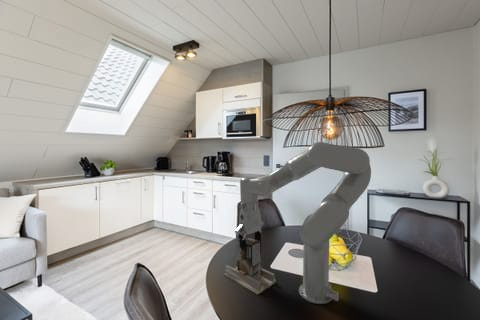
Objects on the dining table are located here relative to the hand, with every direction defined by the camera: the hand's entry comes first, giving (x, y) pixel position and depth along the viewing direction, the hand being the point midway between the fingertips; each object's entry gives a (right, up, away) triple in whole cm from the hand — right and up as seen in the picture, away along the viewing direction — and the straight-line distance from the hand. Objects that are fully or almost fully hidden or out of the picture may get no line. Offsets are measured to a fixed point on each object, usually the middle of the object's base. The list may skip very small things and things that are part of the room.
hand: (250, 244), depth 103 cm
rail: (-1, -15, +1) cm, 15 cm away
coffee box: (-1, -15, +1) cm, 15 cm away
